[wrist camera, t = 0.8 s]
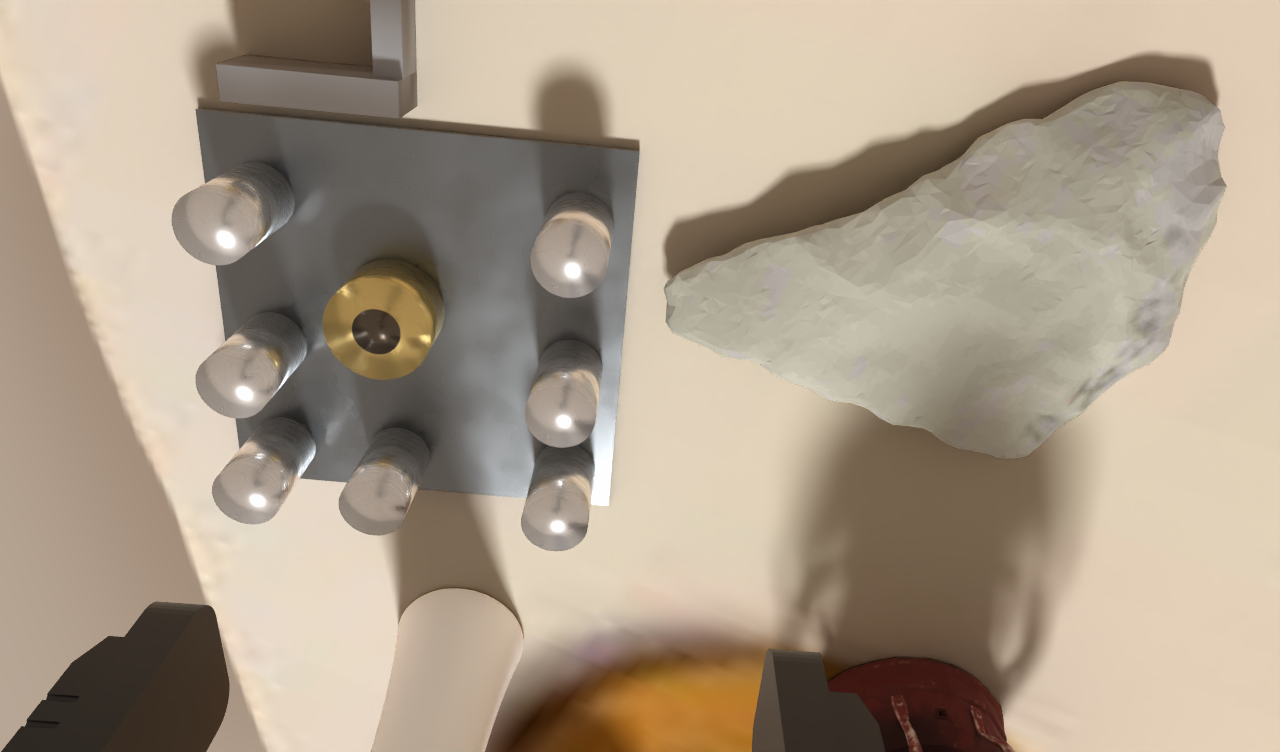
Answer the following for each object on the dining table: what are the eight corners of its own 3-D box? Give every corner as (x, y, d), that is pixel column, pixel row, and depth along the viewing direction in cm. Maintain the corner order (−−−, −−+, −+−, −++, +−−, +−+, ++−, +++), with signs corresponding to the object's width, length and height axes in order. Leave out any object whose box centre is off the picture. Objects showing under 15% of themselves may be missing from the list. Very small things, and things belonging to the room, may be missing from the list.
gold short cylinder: (340, 254, 35) (318, 276, 32) (444, 264, 35) (429, 287, 32) (346, 348, 36) (325, 375, 34) (445, 357, 36) (430, 385, 34)
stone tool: (1211, 72, 33) (663, 78, 32) (1292, 90, 29) (674, 97, 28) (1116, 425, 39) (659, 441, 38) (1172, 477, 36) (668, 495, 34)
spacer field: (199, 108, 33) (136, 131, 29) (639, 149, 33) (635, 179, 29) (245, 469, 39) (199, 527, 36) (608, 502, 40) (602, 563, 36)
